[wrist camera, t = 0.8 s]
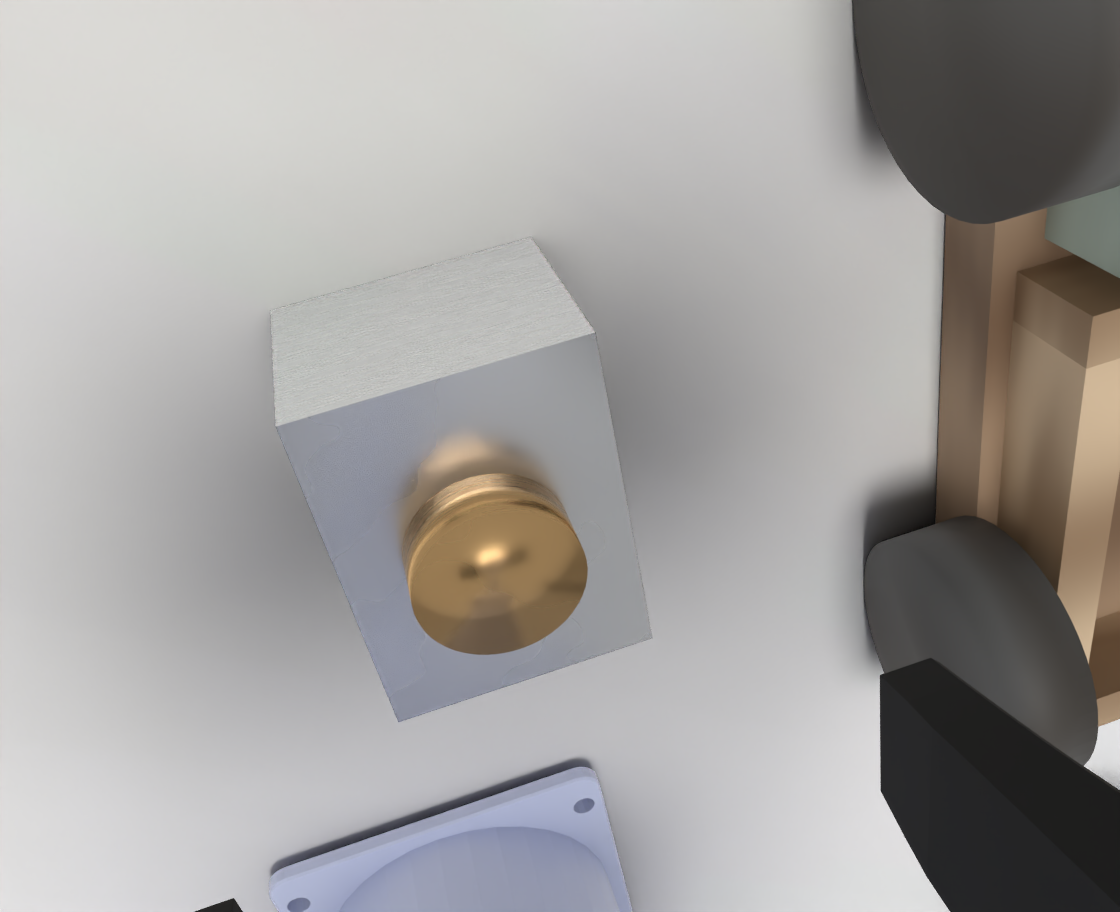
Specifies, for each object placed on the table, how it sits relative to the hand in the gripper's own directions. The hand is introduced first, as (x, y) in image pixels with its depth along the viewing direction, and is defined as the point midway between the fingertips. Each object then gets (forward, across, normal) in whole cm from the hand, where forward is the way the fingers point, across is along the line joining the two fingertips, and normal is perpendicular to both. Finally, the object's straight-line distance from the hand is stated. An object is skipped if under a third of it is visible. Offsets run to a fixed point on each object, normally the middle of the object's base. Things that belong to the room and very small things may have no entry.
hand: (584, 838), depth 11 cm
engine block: (+9, 0, 0) cm, 9 cm away
